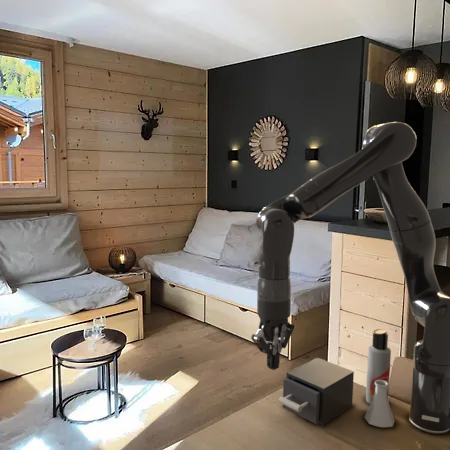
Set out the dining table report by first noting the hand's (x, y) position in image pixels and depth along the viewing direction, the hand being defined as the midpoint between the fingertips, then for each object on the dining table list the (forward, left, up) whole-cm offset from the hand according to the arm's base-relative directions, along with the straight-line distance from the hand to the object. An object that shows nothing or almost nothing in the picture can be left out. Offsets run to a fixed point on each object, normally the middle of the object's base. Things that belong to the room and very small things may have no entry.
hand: (273, 368), depth 104 cm
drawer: (-10, -10, -16) cm, 21 cm away
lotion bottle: (-29, -16, -17) cm, 38 cm away
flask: (-27, -7, -17) cm, 33 cm away
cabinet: (-13, -13, -17) cm, 25 cm away
